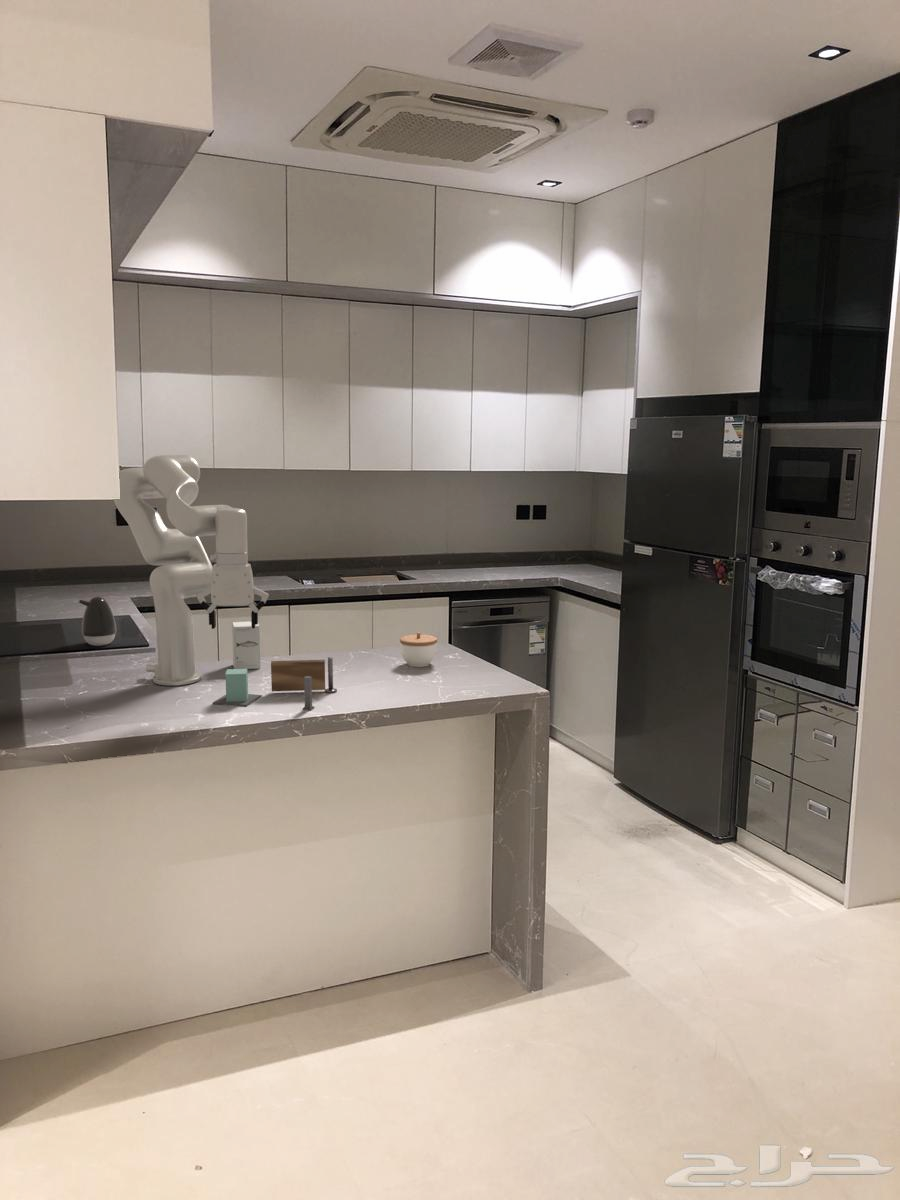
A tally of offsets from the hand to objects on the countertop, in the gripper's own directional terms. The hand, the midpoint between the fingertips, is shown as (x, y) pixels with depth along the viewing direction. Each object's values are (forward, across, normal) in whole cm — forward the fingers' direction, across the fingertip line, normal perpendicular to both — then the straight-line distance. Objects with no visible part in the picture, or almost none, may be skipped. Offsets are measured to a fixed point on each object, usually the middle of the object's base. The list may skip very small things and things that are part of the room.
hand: (233, 627), depth 236 cm
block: (+18, +1, -1) cm, 18 cm away
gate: (+18, +16, +5) cm, 24 cm away
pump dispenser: (+21, -48, +68) cm, 86 cm away
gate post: (+18, +24, +5) cm, 30 cm away
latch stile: (+18, +18, -10) cm, 28 cm away
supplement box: (+19, 0, +34) cm, 39 cm away
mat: (+18, +1, -1) cm, 19 cm away
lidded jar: (+19, +49, +30) cm, 61 cm away
